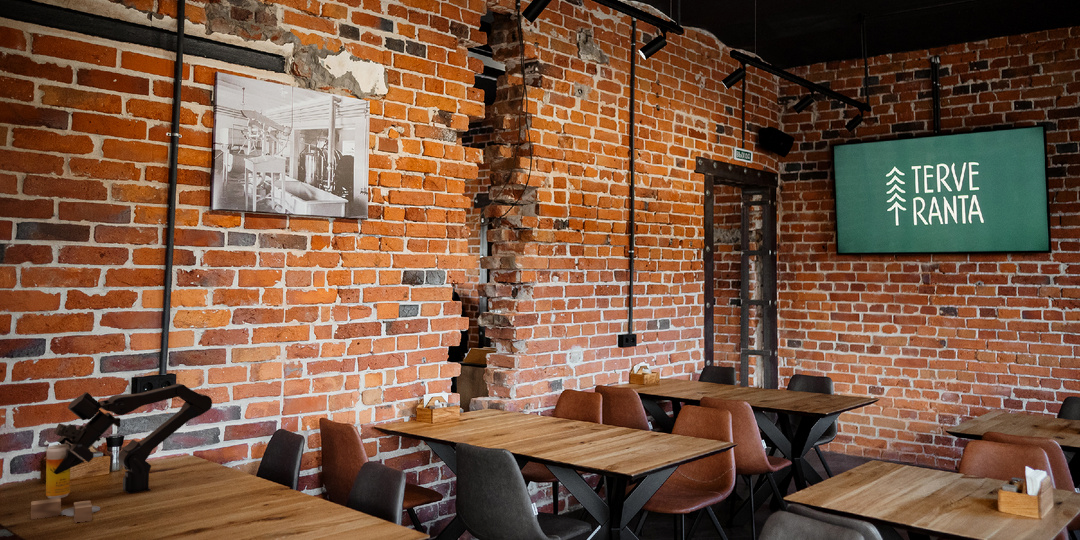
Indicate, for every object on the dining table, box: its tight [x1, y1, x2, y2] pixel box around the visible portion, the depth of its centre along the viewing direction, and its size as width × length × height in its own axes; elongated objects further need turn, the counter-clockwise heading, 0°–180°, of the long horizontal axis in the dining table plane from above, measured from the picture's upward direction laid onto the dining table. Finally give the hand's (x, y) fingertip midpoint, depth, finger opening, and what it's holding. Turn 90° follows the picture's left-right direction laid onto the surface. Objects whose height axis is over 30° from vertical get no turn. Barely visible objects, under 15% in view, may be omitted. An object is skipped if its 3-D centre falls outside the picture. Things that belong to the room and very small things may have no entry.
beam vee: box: [30, 498, 101, 524], centre depth 219 cm, size 15×20×4 cm
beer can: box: [45, 443, 71, 499], centre depth 229 cm, size 6×6×15 cm
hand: (52, 471), depth 228 cm, fingers closed on beer can, 6 cm apart
